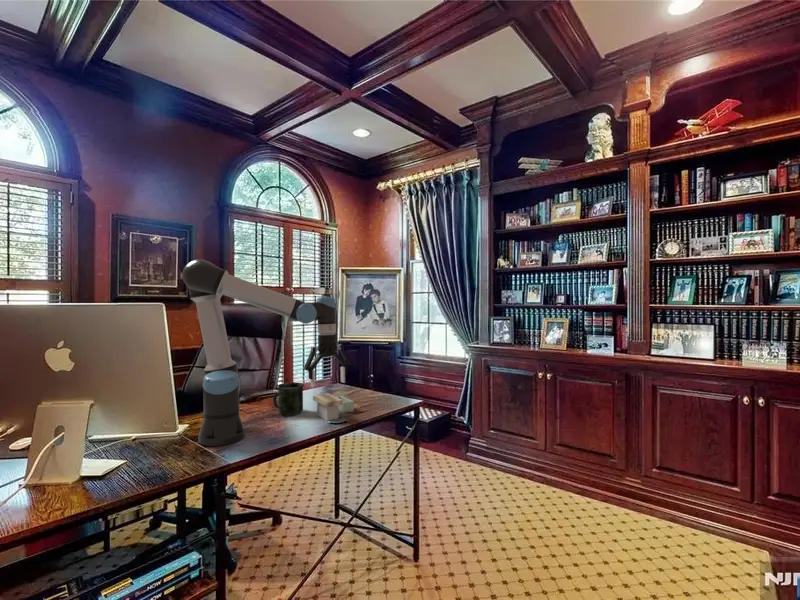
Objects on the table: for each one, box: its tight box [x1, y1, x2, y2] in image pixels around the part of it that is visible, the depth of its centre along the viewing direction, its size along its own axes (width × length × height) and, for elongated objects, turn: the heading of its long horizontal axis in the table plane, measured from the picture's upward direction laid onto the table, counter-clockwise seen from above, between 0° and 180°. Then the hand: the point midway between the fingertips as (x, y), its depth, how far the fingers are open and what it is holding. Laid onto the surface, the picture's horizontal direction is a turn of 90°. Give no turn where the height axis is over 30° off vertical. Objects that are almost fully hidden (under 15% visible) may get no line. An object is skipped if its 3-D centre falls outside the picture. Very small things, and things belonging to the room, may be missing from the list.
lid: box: [312, 392, 343, 408], centre depth 173 cm, size 7×14×2 cm, turn 34°
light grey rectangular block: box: [316, 402, 339, 422], centre depth 173 cm, size 5×10×6 cm, turn 34°
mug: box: [272, 382, 304, 416], centre depth 179 cm, size 11×15×12 cm
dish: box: [336, 395, 355, 414], centre depth 184 cm, size 5×12×4 cm, turn 34°
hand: (328, 384), depth 173 cm, fingers open, 13 cm apart
